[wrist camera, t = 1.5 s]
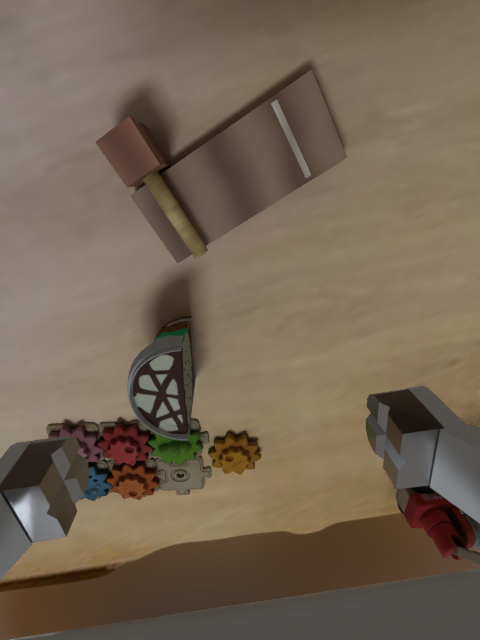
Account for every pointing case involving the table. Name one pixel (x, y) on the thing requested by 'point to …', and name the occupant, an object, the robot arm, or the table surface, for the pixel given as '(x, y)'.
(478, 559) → the toy fire truck
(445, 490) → the robot arm
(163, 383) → the food container
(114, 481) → the gear puzzle
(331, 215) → the table surface
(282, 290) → the table surface
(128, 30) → the table surface
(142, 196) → the walnut board
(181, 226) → the toy wooden hammer
